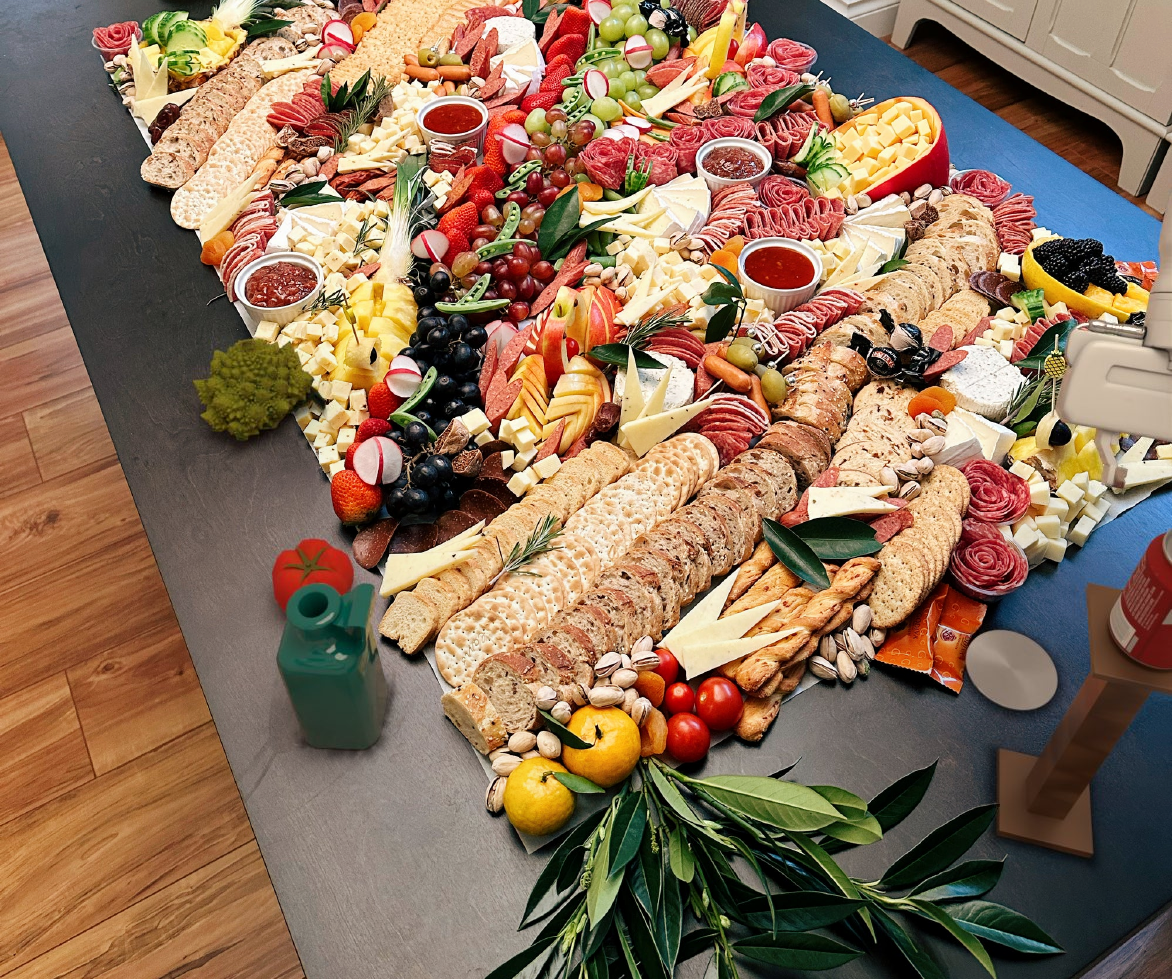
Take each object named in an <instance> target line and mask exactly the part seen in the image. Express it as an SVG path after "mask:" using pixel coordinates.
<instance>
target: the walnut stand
mask: <svg viewBox="0 0 1172 979" xmlns="http://www.w3.org/2000/svg"><path fill="white" fill-rule="evenodd" d="M1122 591H1123V589H1121V588H1116V587H1112V586H1106V585H1102V584H1098V583H1097V584H1096V583H1092V582H1088V583H1087V585H1086V586H1085V595H1086V598H1085V599H1086V611H1087V627H1088V641H1089V656H1090V671H1089V673H1088V675H1087V677H1086V678H1085V679H1084V681H1083V683H1082V684H1081V686H1080V688H1079V689H1078V691H1077V693H1076V695H1075V696H1074V698H1073V700H1072V701H1071V703H1070V705H1069V707H1068V708H1067V710H1066V712H1065V713H1064V715H1063V717H1062V718H1061V719H1060V722H1059V723H1058V724H1057V726H1056V728H1055V730H1054V731H1053V733H1052V734H1051V737H1050V738H1049V740H1048V741H1047V743H1046V745H1045V746H1044V748H1043V749H1042V752H1041V753H1040V754H1039V756H1035V755H1030V754H1026V753H1022V752H1019V751H1013V750H1009V749H1005V748H1001V747H999V749H998V750H997V752H996V804H997V803H998V804H1000V807H998V811H997V810H996V836H999V837H1001V838H1007V839H1010V840H1013V841H1014V840H1015V841H1017V842H1018V841H1019V842H1021V843H1026V844H1030V845H1035V846H1038V847H1043V848H1046V849H1050V850H1054V851H1058V852H1061V853H1062V852H1063V853H1065V854H1070V855H1074V856H1079V857H1082V858H1085V859H1086V858H1087V859H1091V858H1092V856H1093V855H1094V843H1093V842H1094V841H1093V827H1092V826H1093V825H1092V824H1093V823H1092V810H1091V809H1092V808H1091V807H1092V806H1091V791H1090V782H1091V781H1092V780H1093V779H1094V777H1095V775H1096V774H1097V772H1098V771H1099V769H1100V768H1101V766H1102V765H1103V764H1104V762H1105V761H1106V759H1107V758H1108V757H1109V755H1110V754H1111V752H1112V751H1113V750H1114V748H1115V747H1116V745H1117V743H1118V742H1119V741H1120V739H1121V737H1122V736H1123V735H1124V733H1125V732H1126V731H1127V729H1128V727H1129V726H1130V725H1131V723H1132V722H1133V720H1134V718H1135V717H1136V716H1137V714H1138V713H1139V711H1140V710H1141V708H1142V707H1143V705H1144V704H1145V702H1146V701H1147V700H1148V698H1149V697H1150V695H1151V694H1152V692H1155V693H1161V694H1165V695H1170V696H1172V669H1157V668H1152V667H1149V666H1146V665H1144V664H1141V663H1139V662H1137V661H1136V660H1134V659H1132V658H1131V657H1130V656H1128V655H1127V654H1126V653H1125V652H1124V651H1123V650H1122V649H1121V648H1120V647H1119V646H1118V645H1117V643H1116V642H1115V640H1114V639H1113V637H1112V635H1111V632H1110V629H1109V615H1110V612H1111V610H1112V608H1113V607H1114V605H1115V603H1116V601H1117V600H1118V598H1119V596H1120V594H1121V593H1122Z"/></svg>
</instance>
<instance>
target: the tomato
mask: <svg viewBox="0 0 1172 979" xmlns="http://www.w3.org/2000/svg"><path fill="white" fill-rule="evenodd" d="M354 578H355V569H354V566H353V564H352V561H351V559H350V557H349V555H348V553H346V552H345V551H343V550H341V549H338V548H336V547H333V546H332V545H331V544H330V543H329V542H328V541H327V540H326V539H321V538H315V537H314V538H308V539H302V540H301V541H300V542H299V543H298V545H295V548H294V549H285V550H282V551H281V552H280V554H279V555H278V556H277V557H276V560H275V562H274V565H273V568H272V571H271V579H272V587H273V596H274V600H275V602H276V603H277V605H278V606H279V607H280V608H281V610H282V611H283V612H284V613H285V614H286V611H285V610H286V607H287V603H288V600H289V599H290V597H291V596H292V595H293V593H294V592H295V591H297V590H298V589H300V588H301V587H303V586H305V585H309V584H312V583H325V584H327V585H330V586H332V587H334V588H335V589H336V590H337V592H338V593H339V594H340V596H341V595H344V594H346V593H349V592H350V591H351V589H352V587H353V584H354Z"/></svg>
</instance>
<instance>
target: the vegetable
mask: <svg viewBox="0 0 1172 979" xmlns="http://www.w3.org/2000/svg"><path fill="white" fill-rule="evenodd" d="M226 350H227V351H226V352H223V351H221V350H219V349H217V350H214V352H213V356H212V361H209V364H210V368H209V370H210V372H208V374H209V375H210V377H209V378H203V379H195V380H192V383H193V385H194V387H195V389H196V391H197V393H198V394H197V396H198V397H199V400H201V404H202V405H205V406H206V410H205V412H203V413H201V414H200V415H199V416H200V417H201V418H202V419H203V420H204V421H205V422H206V423H207V424H208V425H209V426H210V427H211V429H212V430H211V432H217V433H222V432H226V431H227V432H228V433H230V435H233V436H235V437H236V440H237V441H239V442H246V441H248V439H249V437H250V436H256V435H259V434H260V430H269V429H276V428H278V426H279V423H280V422H281V421H282V420H283V419H284V418H285V417H286V416H287V415H289V414H290V413H296V412H297V411H298V409H301V408H304V407H306V406H309V405H310V404H311V403H313V404H314V405H316V407H317V408H318V409H320V410H321V411H325V410H327V409H326V407H327V403H328V400H327V399H326V398H324V397H323V396H322V394H321V393H320V392H319V390H318V389H317V388H315V387H314V386H313V383H314V381H315V377H314V376H313V375H312V374H311V373H310V372H309V371H307V370H304V369H303V366H302V362H301V359H300V355H299V352H298V350H297V351H295V347H294V344H293V343H292V342H291V341H290V340H288V342H286V343H285V344H283V345H282V347H280V345H279V340H278V341H275V342H273V343H270V342H267V339H266V340H264V338H260V337H259V338H257V339H255V337H252V338H246V339H241V340H240V339H238V341H237V342H234V346H228V348H227V349H226Z"/></svg>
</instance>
